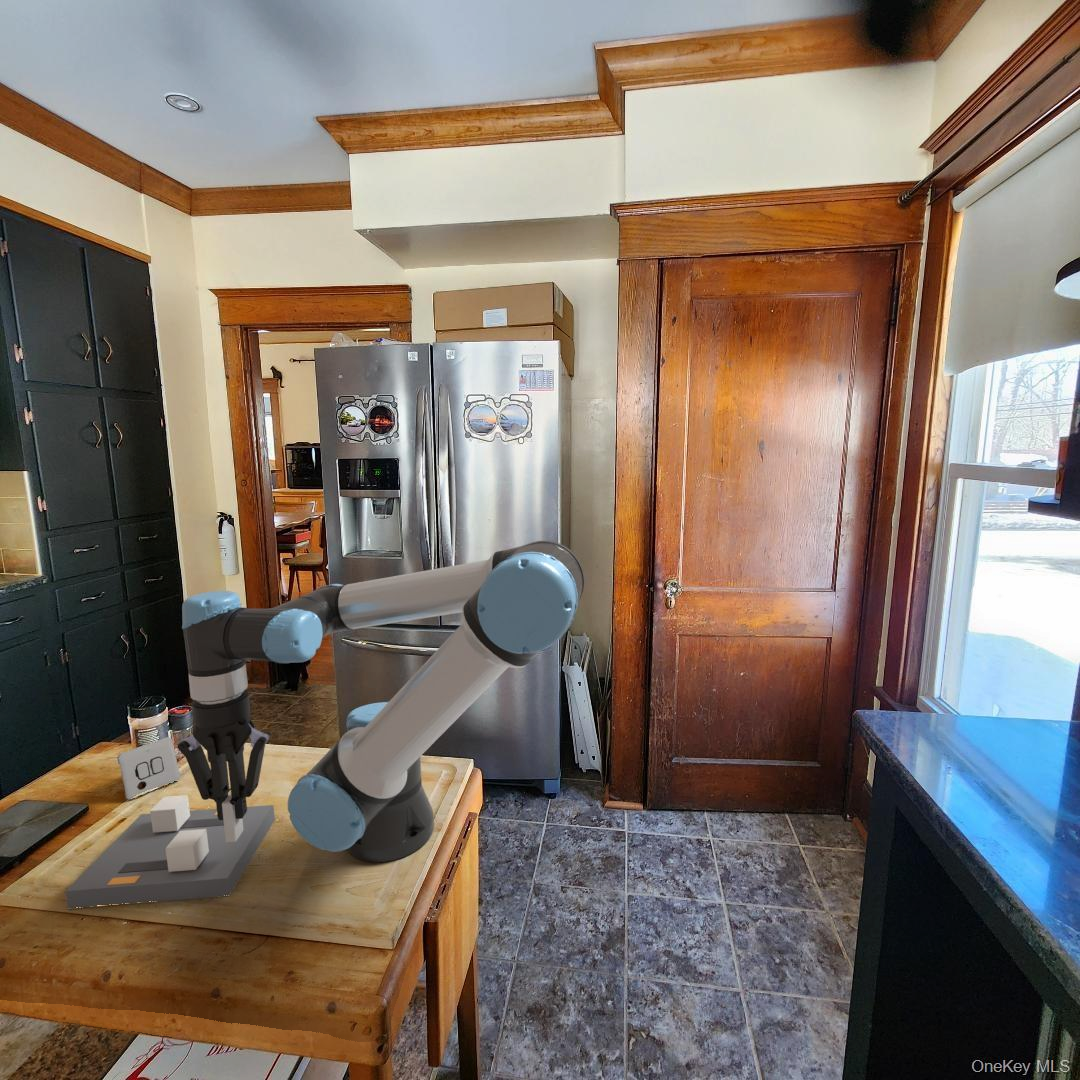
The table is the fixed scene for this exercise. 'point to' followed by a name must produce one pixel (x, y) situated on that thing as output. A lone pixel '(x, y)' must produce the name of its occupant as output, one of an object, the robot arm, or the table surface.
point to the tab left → (187, 850)
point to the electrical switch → (148, 767)
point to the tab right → (170, 813)
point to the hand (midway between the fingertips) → (234, 835)
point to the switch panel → (142, 865)
